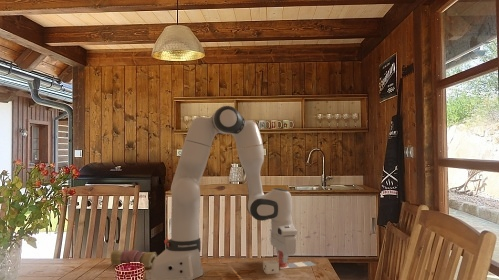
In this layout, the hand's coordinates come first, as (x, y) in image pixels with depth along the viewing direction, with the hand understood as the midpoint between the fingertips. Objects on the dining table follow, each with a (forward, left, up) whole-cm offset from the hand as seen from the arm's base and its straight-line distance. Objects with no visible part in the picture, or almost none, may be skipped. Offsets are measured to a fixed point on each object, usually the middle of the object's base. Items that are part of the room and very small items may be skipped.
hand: (282, 260), depth 159 cm
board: (+6, 0, -3) cm, 7 cm away
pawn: (0, 0, -2) cm, 2 cm away
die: (-7, -3, -1) cm, 8 cm away
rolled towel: (-59, +23, -4) cm, 63 cm away
